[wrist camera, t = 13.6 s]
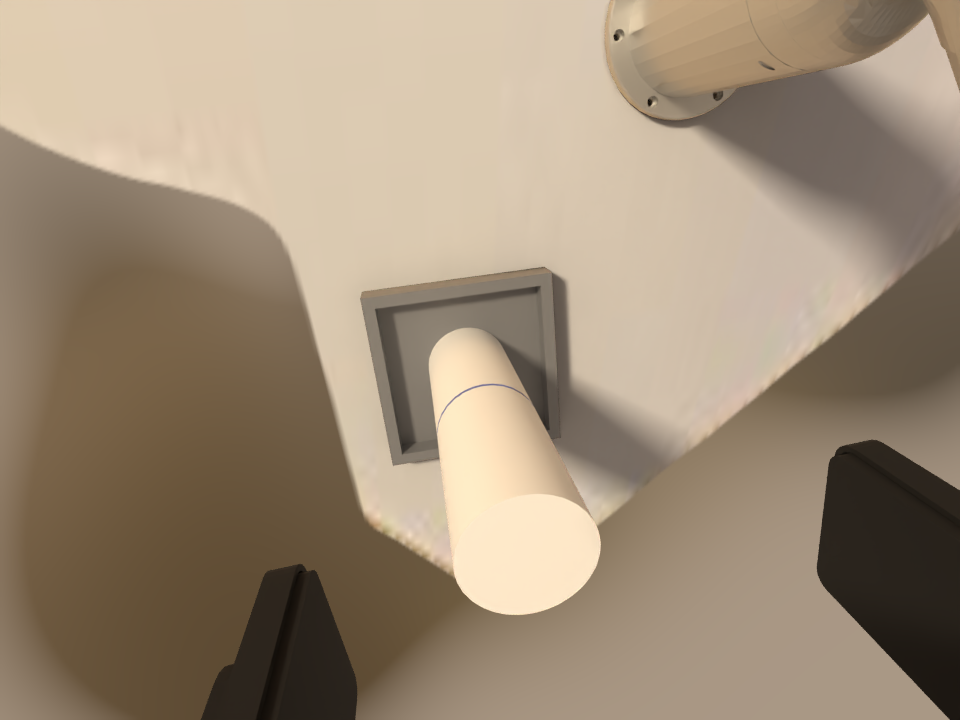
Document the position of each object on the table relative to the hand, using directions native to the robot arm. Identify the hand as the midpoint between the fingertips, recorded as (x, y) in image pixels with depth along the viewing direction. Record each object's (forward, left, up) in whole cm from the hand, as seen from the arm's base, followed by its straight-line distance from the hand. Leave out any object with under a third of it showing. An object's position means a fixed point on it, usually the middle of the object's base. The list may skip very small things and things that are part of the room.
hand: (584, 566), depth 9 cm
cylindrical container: (-1, +11, -38) cm, 39 cm away
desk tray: (-1, +11, -38) cm, 40 cm away
